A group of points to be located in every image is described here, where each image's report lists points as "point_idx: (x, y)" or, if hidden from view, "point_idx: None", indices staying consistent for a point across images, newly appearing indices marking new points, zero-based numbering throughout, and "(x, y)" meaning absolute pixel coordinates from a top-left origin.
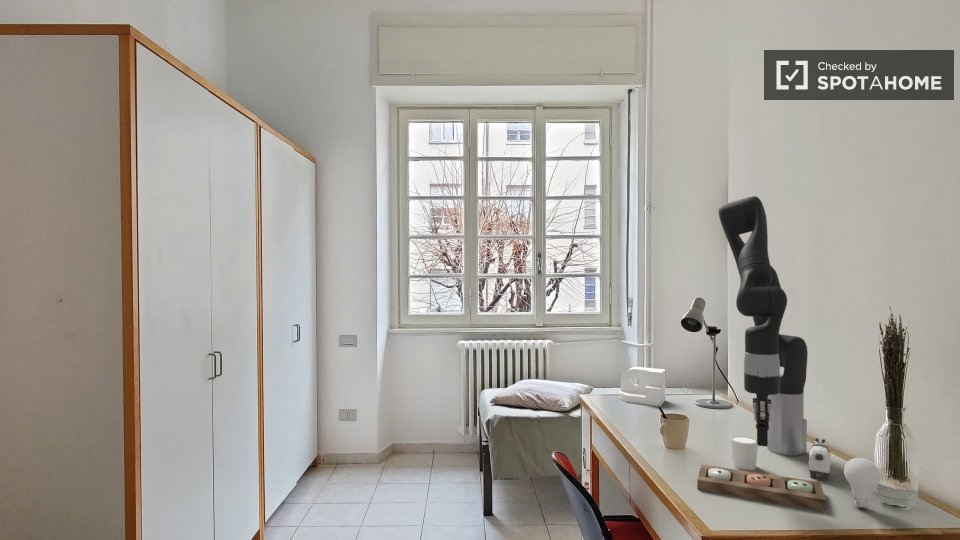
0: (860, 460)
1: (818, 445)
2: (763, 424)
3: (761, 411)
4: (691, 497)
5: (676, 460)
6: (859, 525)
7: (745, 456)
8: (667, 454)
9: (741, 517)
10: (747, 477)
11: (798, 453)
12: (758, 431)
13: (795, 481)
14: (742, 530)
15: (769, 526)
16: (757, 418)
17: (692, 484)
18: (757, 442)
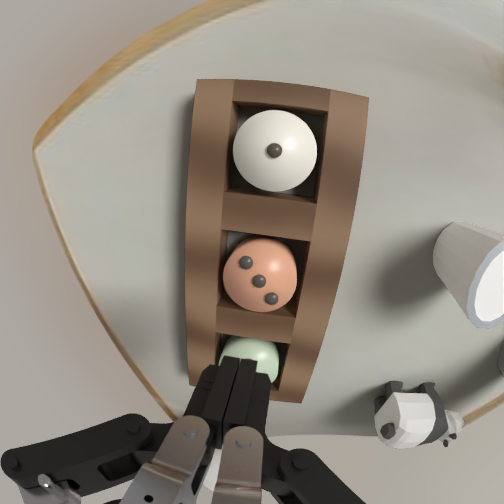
0: (213, 489)
1: (431, 437)
2: (138, 460)
3: (19, 486)
4: (150, 81)
5: (449, 57)
6: (163, 390)
7: (450, 267)
8: (479, 49)
9: (87, 202)
10: (251, 246)
11: (498, 365)
12: (203, 414)
13: (266, 365)
14: (47, 203)
15: (78, 252)
16: (31, 446)
17: (253, 71)
18: (221, 363)
